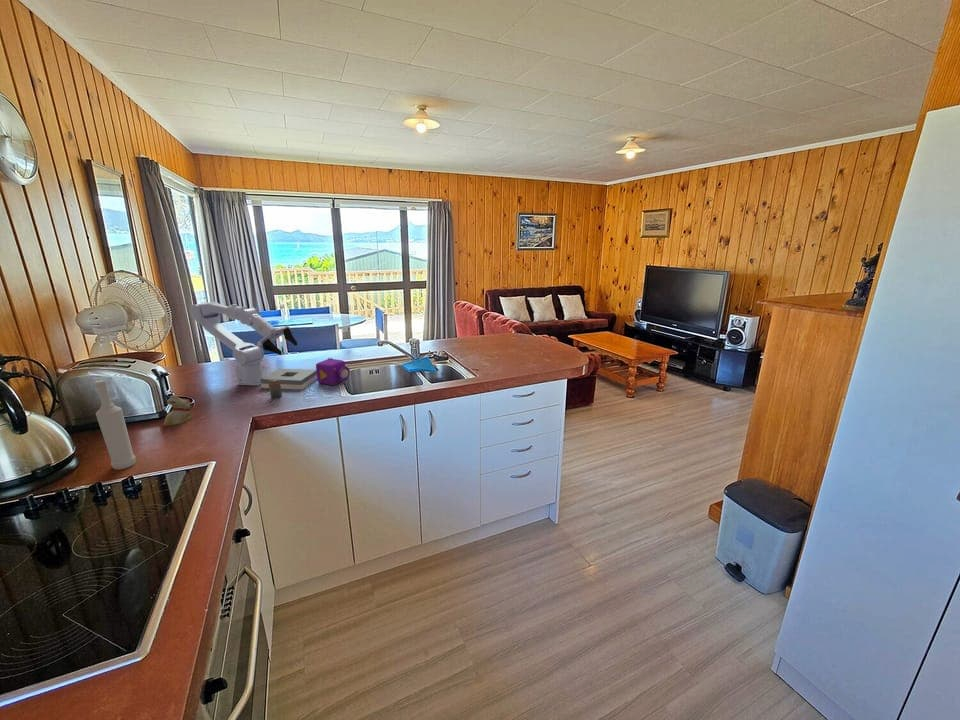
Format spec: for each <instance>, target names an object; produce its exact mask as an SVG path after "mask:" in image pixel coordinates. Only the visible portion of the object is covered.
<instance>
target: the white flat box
mask: <svg viewBox="0 0 960 720" xmlns="http://www.w3.org/2000/svg"><path fill="white" fill-rule="evenodd" d="M272 379H279V380H280V386H281V390H282V389H283V390H304V389H305V388H307V387H308V386H309V385H311V384H312V383H314V382H315V381H317V372H316V369H301V368H300V369H299V368H278V369H275V370H274V371H272V372H270V373H268V374H266V375H264V376H263V378H261V379H260V381H261V384H260V386H261V389H269V384H268V381H269V380H272Z"/></svg>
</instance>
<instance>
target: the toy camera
mask: <svg viewBox="0 0 960 720" xmlns="http://www.w3.org/2000/svg"><path fill="white" fill-rule="evenodd" d="M315 370H316V372H317V379H316V381H317V382H318V383H319V384H323V385H324V384H325V385H328V386H335V385H337V384H339V383H342V382H346V381H348V379H349V378H350V374H351V371H350V368H349V367H348V366H346V362H345V361H344V360H342V359H336V358H333V357H328V358H327V359H325V360H322V361H319V362H317V363H316V364H315Z"/></svg>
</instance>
